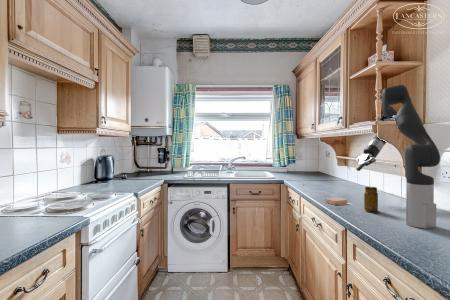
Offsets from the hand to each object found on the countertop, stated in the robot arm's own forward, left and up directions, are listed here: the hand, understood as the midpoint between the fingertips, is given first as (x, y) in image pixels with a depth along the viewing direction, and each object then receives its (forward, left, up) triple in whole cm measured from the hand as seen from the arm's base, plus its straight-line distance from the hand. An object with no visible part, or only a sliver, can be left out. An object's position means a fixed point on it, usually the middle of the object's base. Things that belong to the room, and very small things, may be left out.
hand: (357, 169), depth 158 cm
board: (0, +12, -18) cm, 22 cm away
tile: (0, +11, -17) cm, 20 cm away
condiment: (-20, +10, -19) cm, 29 cm away
